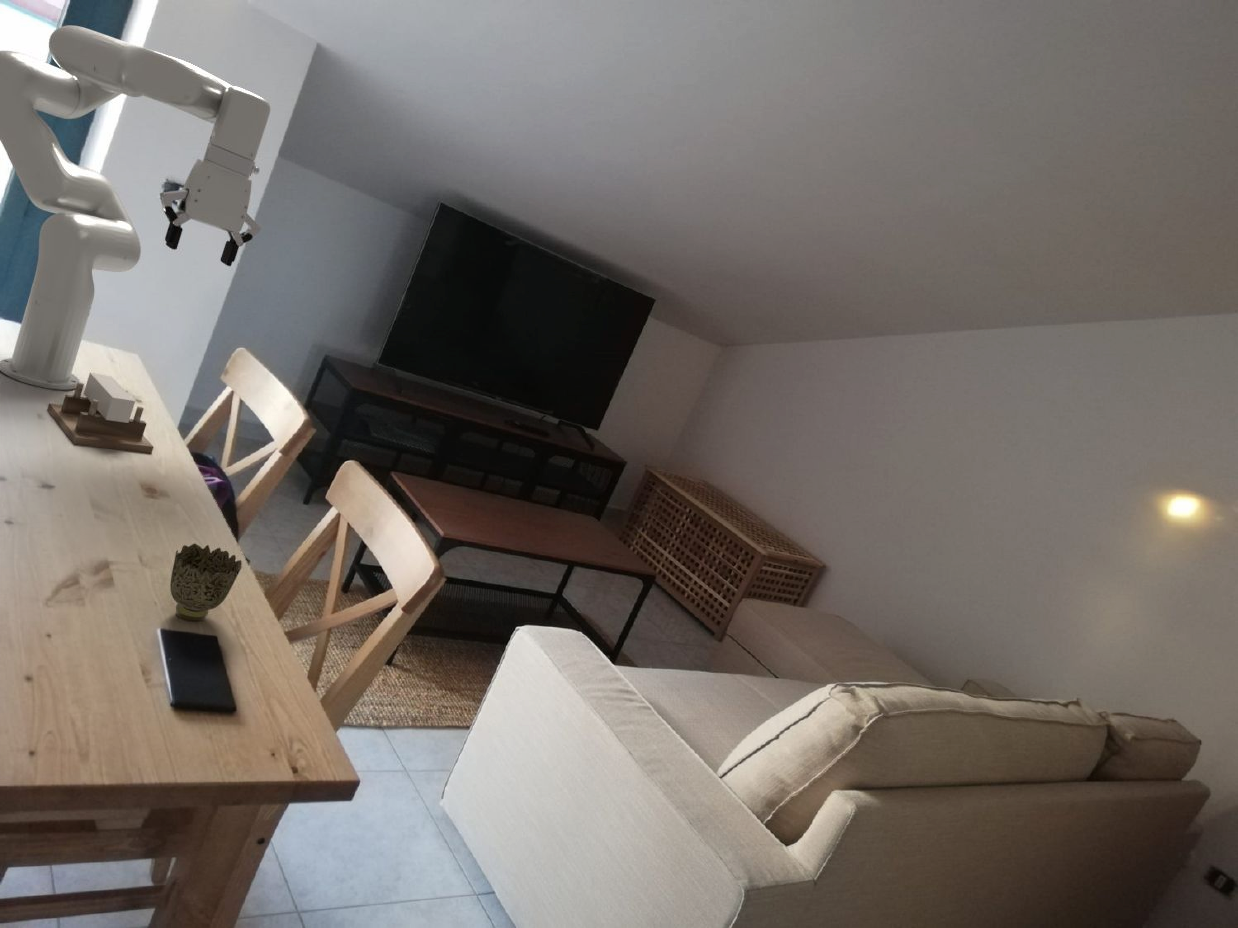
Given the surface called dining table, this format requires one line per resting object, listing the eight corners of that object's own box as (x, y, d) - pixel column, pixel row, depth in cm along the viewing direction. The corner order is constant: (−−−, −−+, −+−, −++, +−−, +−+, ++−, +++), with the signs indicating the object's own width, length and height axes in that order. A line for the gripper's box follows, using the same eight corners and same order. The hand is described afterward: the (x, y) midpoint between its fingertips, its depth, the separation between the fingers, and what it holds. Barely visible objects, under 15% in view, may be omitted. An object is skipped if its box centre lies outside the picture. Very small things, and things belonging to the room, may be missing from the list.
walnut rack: (47, 409, 147) (58, 373, 146) (122, 420, 157) (132, 386, 156) (74, 444, 138) (85, 406, 137) (151, 453, 148) (163, 417, 147)
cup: (178, 593, 108) (197, 537, 107) (233, 616, 108) (253, 560, 107) (143, 614, 101) (163, 553, 99) (202, 638, 101) (223, 578, 100)
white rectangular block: (83, 393, 149) (89, 372, 149) (105, 397, 152) (111, 376, 151) (105, 419, 142) (112, 397, 141) (128, 422, 145) (135, 401, 144)
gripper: (265, 176, 158) (236, 264, 161) (169, 138, 144) (139, 235, 147) (284, 185, 153) (254, 275, 156) (186, 146, 140) (155, 246, 143)
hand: (198, 256), depth 152 cm, fingers open, 9 cm apart
